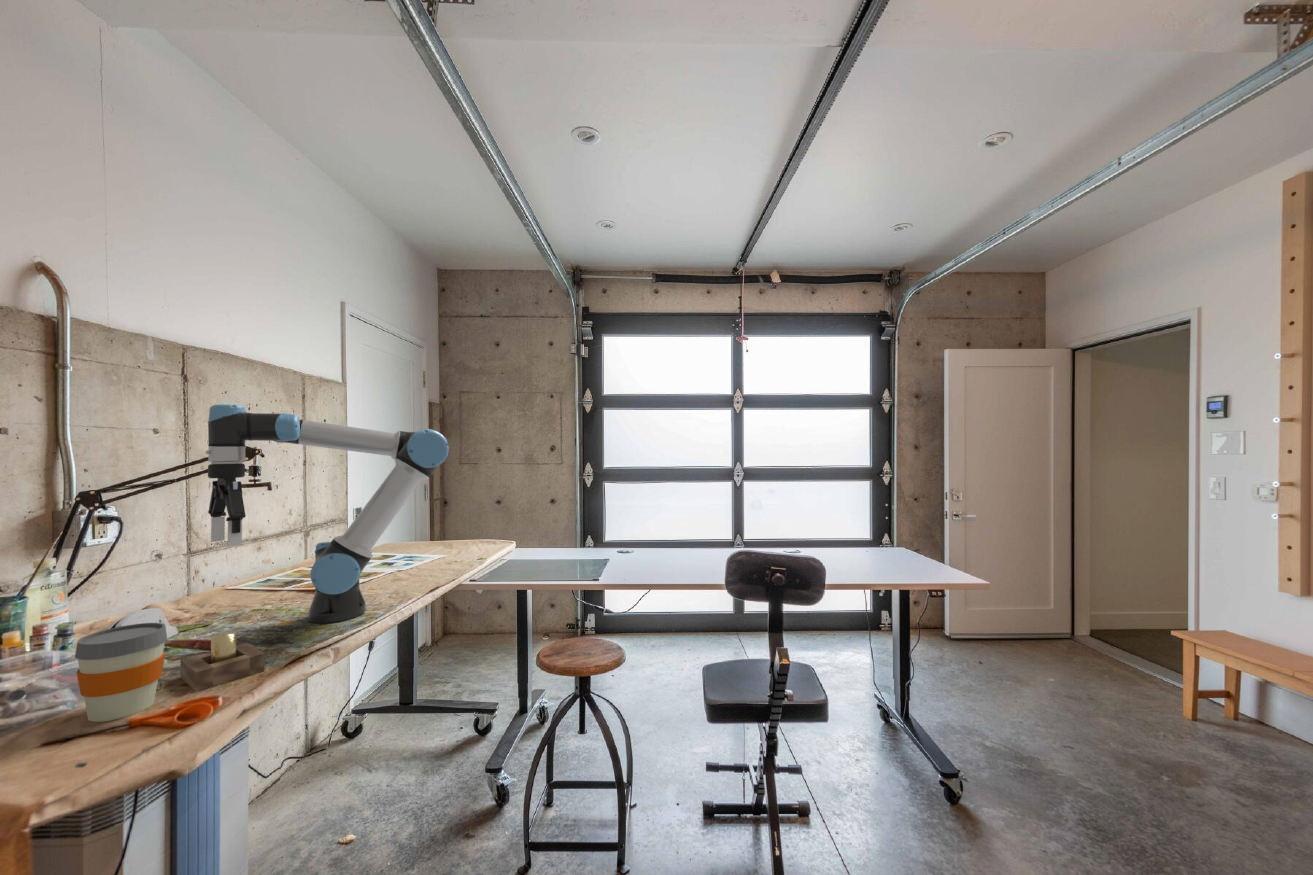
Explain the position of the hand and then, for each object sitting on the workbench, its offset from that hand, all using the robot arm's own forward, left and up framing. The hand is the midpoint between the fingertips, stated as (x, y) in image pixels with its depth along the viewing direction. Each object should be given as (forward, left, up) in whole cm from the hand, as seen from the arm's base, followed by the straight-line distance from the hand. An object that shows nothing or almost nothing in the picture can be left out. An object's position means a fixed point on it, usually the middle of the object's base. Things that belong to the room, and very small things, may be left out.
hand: (225, 543), depth 134 cm
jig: (+6, +22, -27) cm, 35 cm away
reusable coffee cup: (+22, +26, -27) cm, 44 cm away
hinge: (+12, -20, -27) cm, 36 cm away
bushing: (+6, +22, -27) cm, 35 cm away
